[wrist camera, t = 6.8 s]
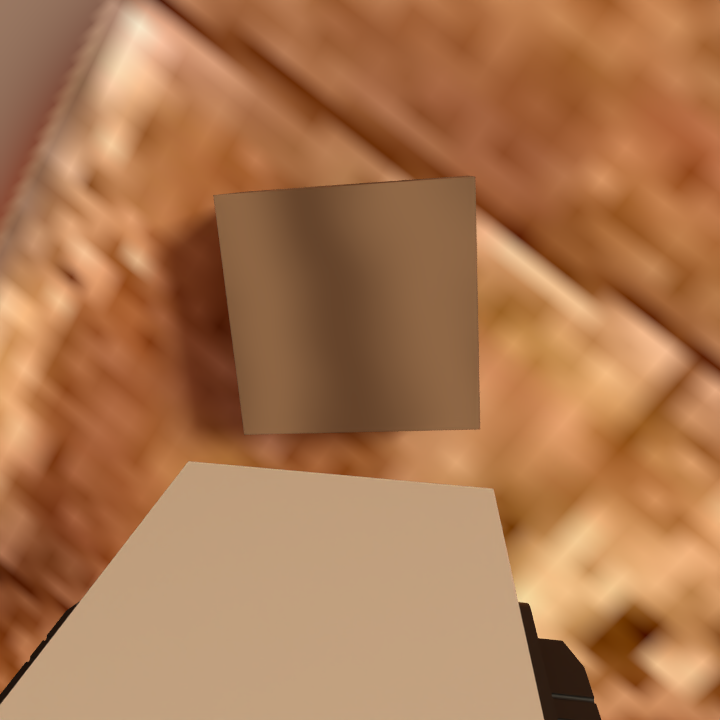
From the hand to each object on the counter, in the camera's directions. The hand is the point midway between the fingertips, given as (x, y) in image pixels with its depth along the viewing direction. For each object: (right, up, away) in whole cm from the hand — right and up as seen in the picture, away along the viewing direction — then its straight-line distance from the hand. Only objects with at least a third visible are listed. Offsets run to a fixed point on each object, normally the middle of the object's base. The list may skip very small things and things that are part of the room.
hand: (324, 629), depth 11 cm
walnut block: (+1, +7, +17) cm, 19 cm away
